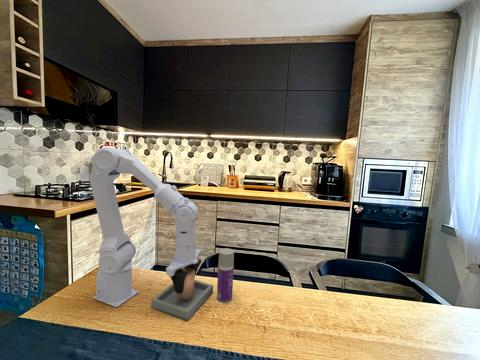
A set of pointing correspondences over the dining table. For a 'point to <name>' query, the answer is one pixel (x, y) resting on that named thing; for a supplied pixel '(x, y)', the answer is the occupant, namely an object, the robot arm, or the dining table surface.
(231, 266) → the container
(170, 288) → the tray
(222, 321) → the dining table surface
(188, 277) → the cup
